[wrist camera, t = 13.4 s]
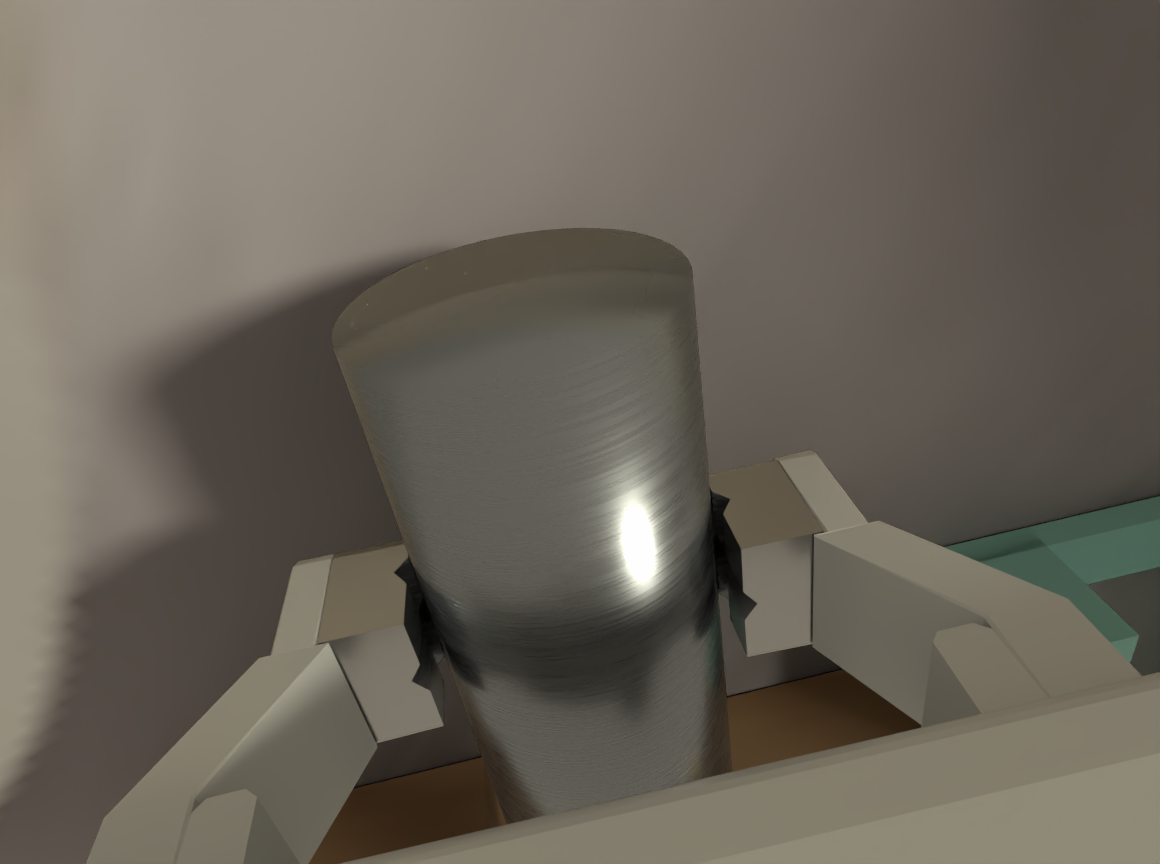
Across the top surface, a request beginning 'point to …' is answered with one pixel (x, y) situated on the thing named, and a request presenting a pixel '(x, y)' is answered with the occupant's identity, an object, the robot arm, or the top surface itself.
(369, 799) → the pair of brown blocks
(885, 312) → the top surface
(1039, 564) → the cradle
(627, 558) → the axle
